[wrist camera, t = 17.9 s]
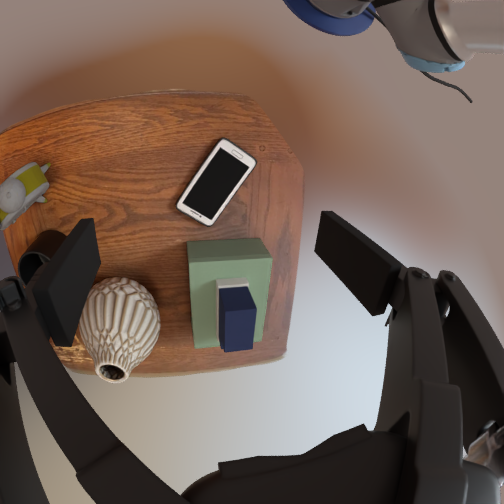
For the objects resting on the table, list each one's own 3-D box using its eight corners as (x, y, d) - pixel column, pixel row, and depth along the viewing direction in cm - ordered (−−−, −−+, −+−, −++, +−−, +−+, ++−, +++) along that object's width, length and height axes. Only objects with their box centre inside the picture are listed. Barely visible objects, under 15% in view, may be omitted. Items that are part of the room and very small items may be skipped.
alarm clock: (49, 153, 35) (5, 172, 22) (67, 183, 39) (29, 213, 26) (12, 191, 35) (-32, 221, 22) (29, 218, 39) (-10, 256, 26)
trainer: (215, 279, 46) (223, 309, 39) (246, 276, 47) (258, 305, 40) (215, 334, 52) (223, 365, 45) (241, 331, 53) (252, 361, 46)
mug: (81, 283, 48) (69, 311, 40) (33, 261, 42) (16, 286, 35) (92, 245, 45) (78, 270, 37) (40, 221, 40) (20, 242, 32)
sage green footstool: (259, 238, 53) (272, 257, 47) (252, 317, 63) (261, 341, 56) (186, 241, 50) (188, 262, 43) (191, 322, 59) (194, 348, 52)
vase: (169, 319, 57) (173, 395, 40) (105, 329, 54) (93, 402, 37) (149, 256, 49) (140, 331, 32) (77, 271, 46) (46, 343, 29)
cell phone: (257, 160, 46) (259, 161, 45) (209, 227, 50) (210, 229, 49) (222, 135, 42) (223, 135, 42) (173, 206, 46) (173, 208, 45)
